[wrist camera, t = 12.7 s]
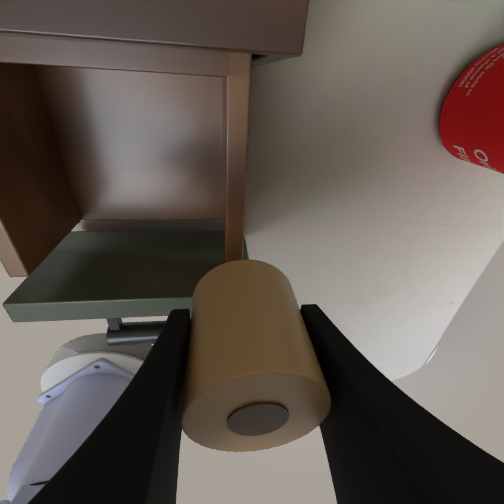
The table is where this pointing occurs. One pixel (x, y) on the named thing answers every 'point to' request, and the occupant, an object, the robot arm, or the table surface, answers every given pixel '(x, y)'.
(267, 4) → the cabinet
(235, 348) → the paper towel roll
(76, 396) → the robot arm
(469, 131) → the beverage can
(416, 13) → the table surface
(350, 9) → the table surface
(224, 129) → the drawer
